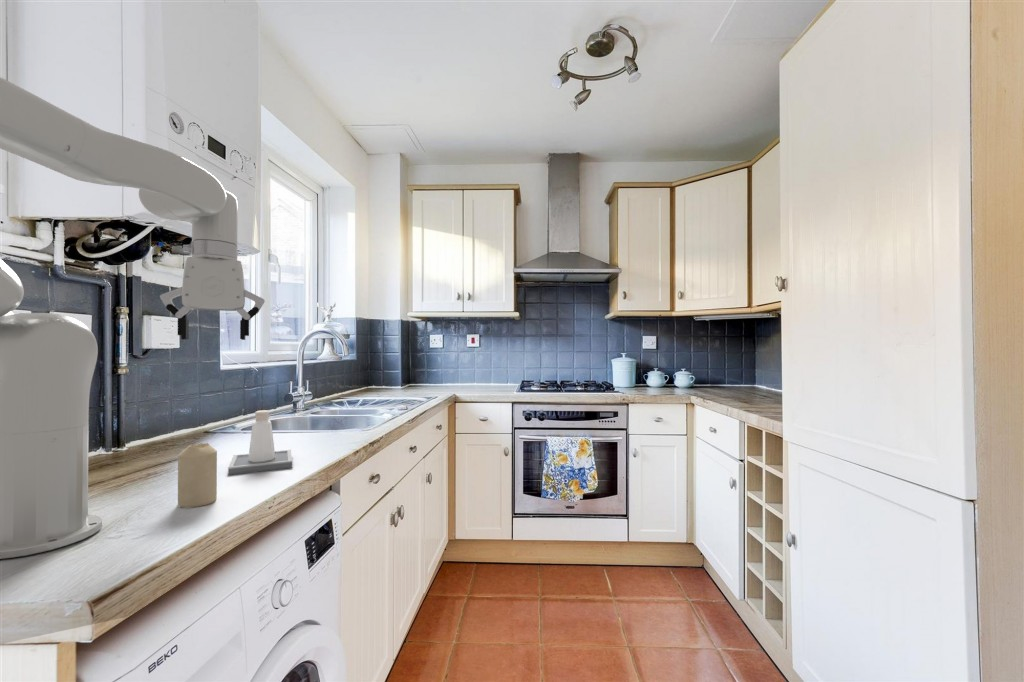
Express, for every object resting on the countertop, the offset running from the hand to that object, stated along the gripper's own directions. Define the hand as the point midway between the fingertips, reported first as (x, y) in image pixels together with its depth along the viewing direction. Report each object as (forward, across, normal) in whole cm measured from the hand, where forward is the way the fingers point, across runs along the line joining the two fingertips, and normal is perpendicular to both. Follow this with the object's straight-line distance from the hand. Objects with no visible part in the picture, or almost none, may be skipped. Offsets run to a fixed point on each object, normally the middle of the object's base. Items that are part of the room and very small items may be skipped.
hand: (214, 339), depth 89 cm
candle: (+28, -1, -12) cm, 31 cm away
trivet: (+28, +8, +11) cm, 31 cm away
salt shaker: (+27, +8, +11) cm, 30 cm away
